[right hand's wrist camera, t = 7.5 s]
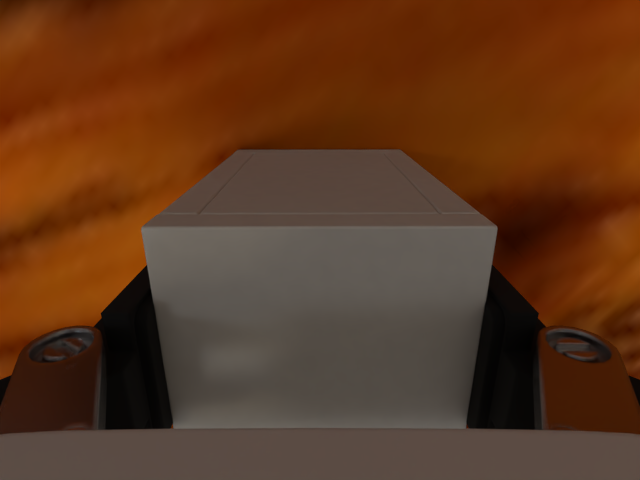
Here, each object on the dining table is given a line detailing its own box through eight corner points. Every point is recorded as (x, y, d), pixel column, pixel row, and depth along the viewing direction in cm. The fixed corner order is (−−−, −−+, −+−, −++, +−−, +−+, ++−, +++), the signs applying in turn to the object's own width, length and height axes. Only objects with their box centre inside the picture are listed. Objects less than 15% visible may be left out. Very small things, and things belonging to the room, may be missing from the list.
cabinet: (379, 462, 22) (420, 715, 13) (259, 463, 22) (219, 716, 13) (400, 149, 16) (499, 226, 7) (237, 149, 16) (140, 227, 7)
